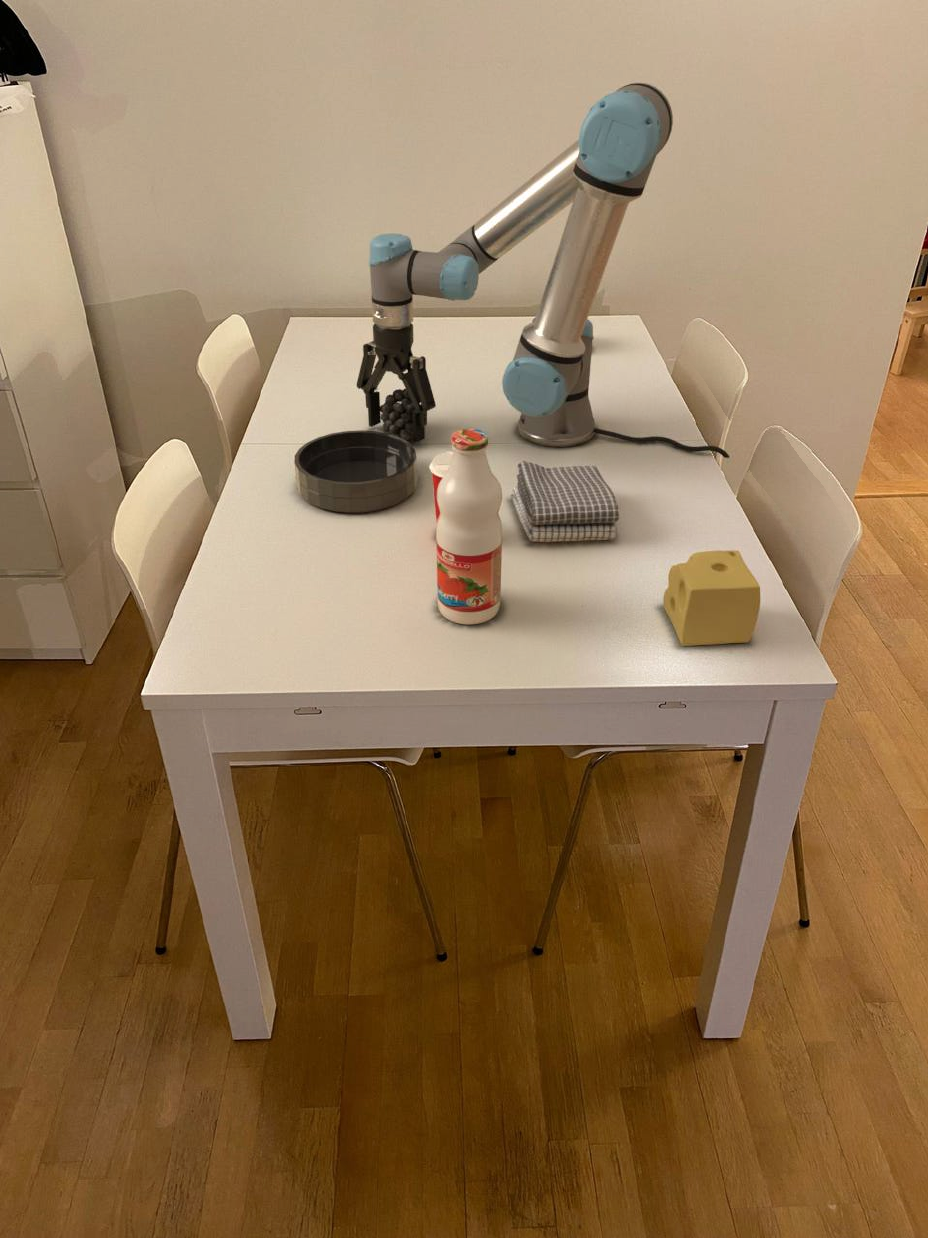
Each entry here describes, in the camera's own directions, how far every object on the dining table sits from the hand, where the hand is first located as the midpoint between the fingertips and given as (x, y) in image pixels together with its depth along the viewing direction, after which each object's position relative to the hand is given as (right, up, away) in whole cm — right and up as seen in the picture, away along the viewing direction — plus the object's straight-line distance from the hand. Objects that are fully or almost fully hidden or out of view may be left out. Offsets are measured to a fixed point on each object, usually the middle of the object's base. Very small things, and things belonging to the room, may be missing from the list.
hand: (396, 432), depth 197 cm
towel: (+30, -20, -26) cm, 45 cm away
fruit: (0, -1, +1) cm, 1 cm away
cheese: (+49, -38, -52) cm, 81 cm away
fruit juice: (+14, -36, -48) cm, 61 cm away
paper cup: (+12, -23, -31) cm, 40 cm away
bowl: (-6, -13, -16) cm, 22 cm away
